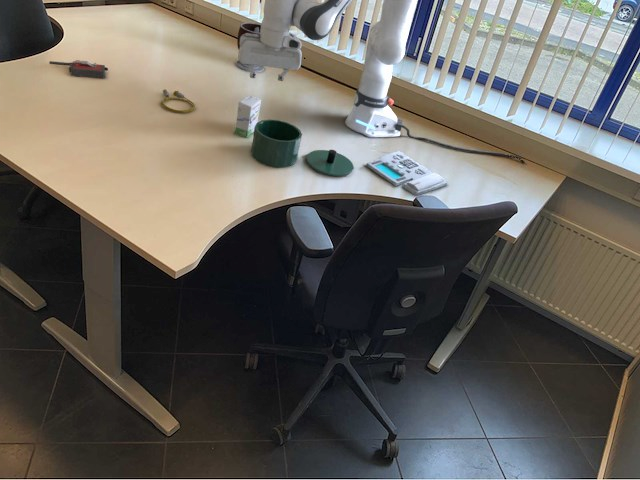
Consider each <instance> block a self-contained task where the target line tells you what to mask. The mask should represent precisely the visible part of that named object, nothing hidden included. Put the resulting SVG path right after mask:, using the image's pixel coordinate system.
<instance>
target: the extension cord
mask: <svg viewBox="0 0 640 480" xmlns="http://www.w3.org/2000/svg"><path fill="white" fill-rule="evenodd" d="M162 94H163V96H164V97H165V98H164V99H162V101H161V102H160V105H161V107H162V108H163V109H165V110H167V111H169V112H171V113H172V112H173V113H176V114H177V113H178V114H187V113H189V112H192V111H194V110H195V106H196V105H195V103H194V102H193V101H192V100H190V99H188V98H186V97H185V94H183V93H182V92H180V91H179V90H174V91H173V96H175V97H170V92H169V91H168V90H167V89H163V90H162ZM172 100H173V101H180V102H184V103H187V104H189V105H191V108H188V109H182V110H179V109H175V108H171V107H169V106H167V105H166V104H164V103H165V102H167V101H172Z"/></svg>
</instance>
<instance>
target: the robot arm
mask: <svg viewBox="0 0 640 480" xmlns="http://www.w3.org/2000/svg"><path fill="white" fill-rule="evenodd" d="M352 1H353V0H324V1H323V2H318V1H316V0H264V2H263V3H264V4H263V18H262V20H261V22H260V23H261V24H260V25H261V29H260V35H259V34H250V33H245V34H243V35H242V36H241V37H240V42H239V44H240V48H239V49H238V54H237V61H240V63H242V64H248V67H249V69H250V72H249V78H250V79H256V74H257V72H255V71H252V68H253V66H254V65H258V66H263V67H268V68H276V69H282V72H281V73H278V74H277V81H278V82H284V79H285V77H286V76H287V74H288V73H289V70H293V71H298V70H299V69H300V68H301V66H302V59H303V53H302V50H301V48H302V45H303V43H302V41H301V39H300V38H299V37H298V36H297V35H296V34H293V33H291V32H290V28H291V27H295V28H296V29H298V30H299V31H301V33H302V34H304V35H305V36H306V37H307V38H308V39H309V40H312V41H321V40H323V39H325V38H326V37H327V36H328V35H329V34H330V33H331V32H332V30H333V29H334V27H335V25H336V23H337V21H338V20H339V18H340V17H341V15H342V14H343V13H344V11H345V10H346V9H347V8H348V7H349V5H350V4H351V3H352ZM417 3H418V0H383V2H382V5H381V14H380V19H379V20H378V21H376V22H374V24H372V25H371V27H370V29H369V33H368V38H367V44H366V50H365V55H364V63H363V69H362V73H361V76H360V81H359V85H358V87H357V88H356V91H355V94H354V98H353V104H352V107H351V109H350V111H349V113H348V116H347V118H346V119H345V121H344V123H345V125H346V126H347V127H348V129H351V130H353V131H354V132H356V133H360V134H362V135H364V136H366V137H368V138H392V137H400V136H401V131H402V128H403V129H404V130H405V131H406V135H407V136H408V137H409V138H411V139H415V140H417V141H425V142H429V143H432V144H435V145H439V146H442V147H445V148H450V149H454V150H458V151H464V152H469V153H470V152H471V153H478V154H487V155H494V156H502V157H506V158H507V157H508V158H513V159H518V158H519V159H518V160H519V161H520V162H521V163H522V164H526V161H525V160H524V159H523V158H522V157H521V156H518V155H514V154H508V153H505V152H504V153H503V152H496V151H489V150H479V149H471V148H466V147H460V146H454V145H450V144H447V143H443V142H440V141H437V140H433V139H430V138H427V137H420V136H414V135H411V133H410V129H409V128H408V127H407V126H406V125H404V124H403V120H402V119H399V118H398V117H397V115H396V114H395V112H394V111H393V109H392V108H391V107H390V106H393V105H394V103H395V101H394V100H393V99H392V98H390V96H389V95H387V94H388V91H389V89H390V84H391V81H392V77H393V66H395V65H396V64H399V63H400V62H401V61H402V60H403V58H404V56H405V53H406V44H407V41H408V37H409V32H410V28H411V23H412V18H413V15H414V12H415V8H416V6H417ZM505 154H507V155H505ZM509 155H510V156H509ZM512 156H513V157H512ZM515 157H516V158H515ZM520 159H523V160H524V161H523V160H520Z"/></svg>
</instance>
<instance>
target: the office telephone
mask: <svg viewBox="0 0 640 480" xmlns="http://www.w3.org/2000/svg"><path fill="white" fill-rule="evenodd" d="M366 167H368V168H369V169H370V170H372V171H373V172H374V173H376V174H377V175H379V176H380V177H382V178H383V179H385V180H386V181H387V182H389V183H391V184H392V185H394V186H395V187H399V186H400V185H403V186H402V187H403V188H404V189H406V190H407V191H408V192H410V193H411V194H413V195H414V196H420V195H423V194H426V193H429V192H431V191H435V190H438V189H440V188H442V187H445V186H447V185H448V183H449V182H448V181H447V180H445V179H444V177H442V175H440V174H439V173H437V172H433V171H431V170H430V169H428V168H427V167H425V166H424V165H422V164H420V163H419V162H417V161H416V160H414V159H413V158H412V157H410V156H408V155H407V154H406V153H404V152H402V151H401V150H397V151H394V152H391V153H387V154H384V155H382V156H381V157H380V158H378V159H375V160H372V161H367V163H366Z"/></svg>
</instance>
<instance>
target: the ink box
mask: <svg viewBox="0 0 640 480" xmlns="http://www.w3.org/2000/svg"><path fill="white" fill-rule="evenodd" d="M261 104H262V99H260V98H258V97H255V96H252V95H249V94H248V95H247V96H246V97H244V98H242V99H241V100H240V101H239V102H238V106H237V111H236V112H237V113H236V119H235V126H234V127H235V129H234V134H235V135H237V136H240V137H243V138H246V139H247V138H249V137H250V136H251V135H252V134H254V129H255V125H256V124H257V122H259V116H260V110H261Z"/></svg>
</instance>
